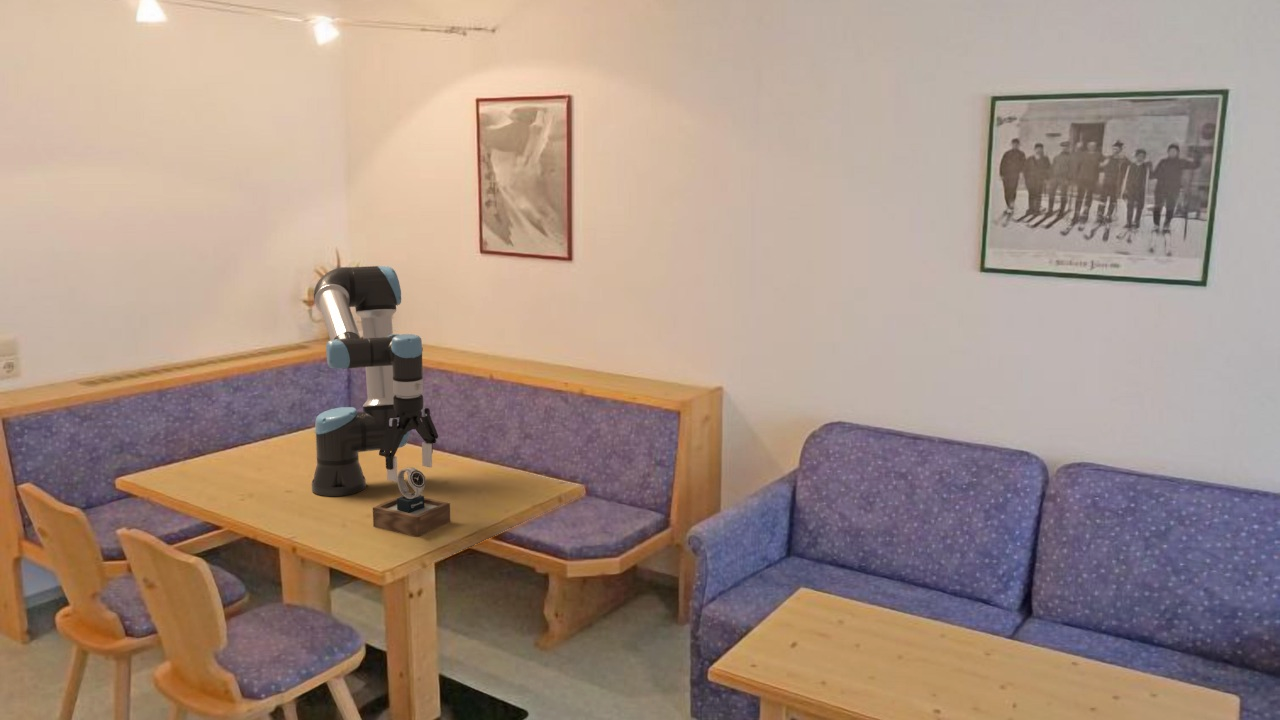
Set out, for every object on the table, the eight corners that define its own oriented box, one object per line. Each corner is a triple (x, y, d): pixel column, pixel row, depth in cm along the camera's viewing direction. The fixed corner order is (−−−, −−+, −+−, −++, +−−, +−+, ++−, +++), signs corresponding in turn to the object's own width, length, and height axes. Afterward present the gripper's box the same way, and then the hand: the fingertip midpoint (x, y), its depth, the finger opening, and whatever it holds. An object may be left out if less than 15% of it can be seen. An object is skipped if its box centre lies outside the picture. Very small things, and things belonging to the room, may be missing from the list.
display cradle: (373, 526, 262) (372, 507, 261) (406, 511, 273) (406, 493, 272) (417, 536, 255) (417, 517, 254) (450, 521, 266) (449, 502, 265)
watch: (414, 514, 259) (412, 474, 256) (392, 508, 263) (391, 468, 261) (429, 508, 263) (428, 468, 261) (408, 502, 268) (407, 463, 265)
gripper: (385, 407, 245) (388, 489, 249) (450, 387, 266) (451, 463, 271) (362, 403, 248) (365, 484, 253) (428, 383, 270) (430, 458, 274)
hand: (410, 473), depth 262 cm, fingers open, 13 cm apart
